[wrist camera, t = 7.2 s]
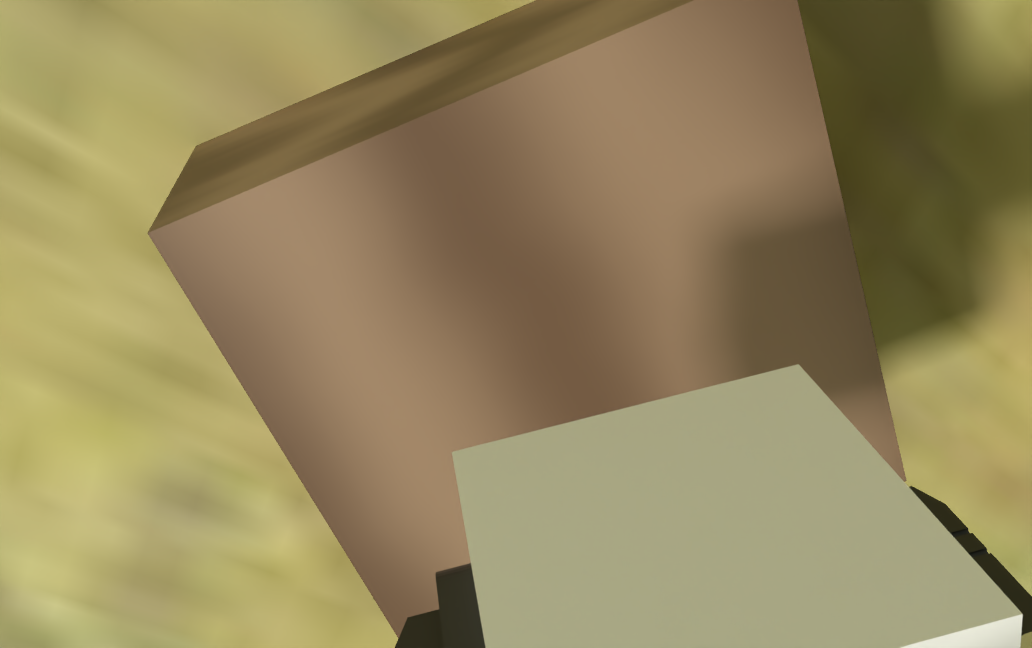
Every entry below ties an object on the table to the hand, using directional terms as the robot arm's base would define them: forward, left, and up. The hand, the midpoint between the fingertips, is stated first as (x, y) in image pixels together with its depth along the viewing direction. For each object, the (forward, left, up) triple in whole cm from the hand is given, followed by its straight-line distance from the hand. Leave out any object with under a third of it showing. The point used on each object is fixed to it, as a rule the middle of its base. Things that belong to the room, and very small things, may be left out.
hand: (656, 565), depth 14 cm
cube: (0, 0, 0) cm, 0 cm away
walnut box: (0, 0, -12) cm, 12 cm away
